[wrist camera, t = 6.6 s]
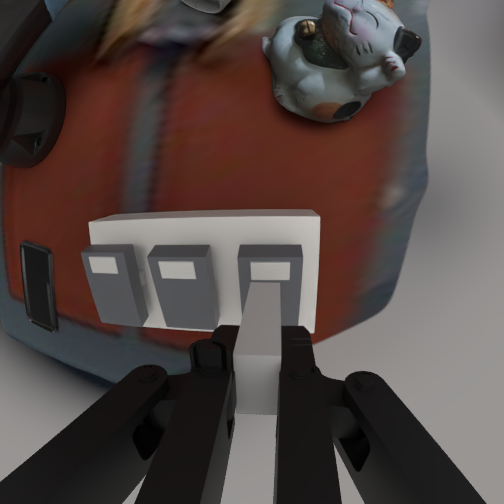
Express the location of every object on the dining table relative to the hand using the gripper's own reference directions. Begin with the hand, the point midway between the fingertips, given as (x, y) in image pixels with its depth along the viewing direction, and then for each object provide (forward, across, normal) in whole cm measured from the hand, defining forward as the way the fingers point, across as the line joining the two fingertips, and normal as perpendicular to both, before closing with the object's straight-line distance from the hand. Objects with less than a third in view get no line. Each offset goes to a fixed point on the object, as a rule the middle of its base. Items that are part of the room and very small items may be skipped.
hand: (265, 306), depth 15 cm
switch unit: (+18, -7, -3) cm, 20 cm away
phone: (+19, -37, -8) cm, 43 cm away
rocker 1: (+9, -15, -3) cm, 18 cm away
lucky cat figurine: (+19, +6, +21) cm, 29 cm away
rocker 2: (+10, -7, -3) cm, 13 cm away
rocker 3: (+9, 0, -3) cm, 10 cm away
